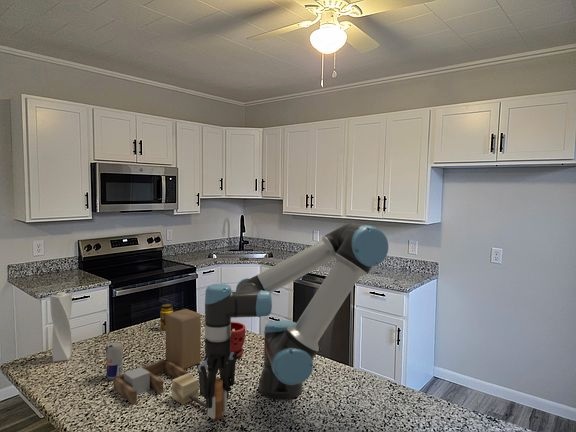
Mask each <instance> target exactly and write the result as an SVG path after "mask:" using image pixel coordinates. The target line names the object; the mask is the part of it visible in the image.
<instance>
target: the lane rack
mask: <svg viewBox="0 0 576 432" xmlns="http://www.w3.org/2000/svg"><path fill="white" fill-rule="evenodd" d="M141 367H142V366H141ZM142 368H143V369H145V370H146V371H148V372H149V373H150V389H153V390H154V391H155V392H156V393H158V394H160V395H161V394H164V380H163V379H162V378H160V377H158V376H157V374H158V375H161V374H162V373H166V372H167V373H166V374H168V375H169V374H170V375H169V376H171V375H172V376H171V377H173V379H176V378H178V377H180V376H183V375H185V374H187V373H188V371H186V369H182V368H180V367H178V366H177V365H175V364H173V363H172V362H170V361H168V360H167V359H166V358H165V359H163V360H161V361H158V362H154V363H152V364H151V363H150V364H148V365H146V366H143V367H142ZM113 390H114V391H116V392H117V393H118V394H119V395H121V397H123V398H124V399H125V400H127V401H128V403H130V404H131V405H132V406H133V405H137V403H138V399H137V398H138V397H137V396H138V394H137V391H136V390H134V389H133V388H132V387H131V386H129V385H128V384H127V383H125V382H124V373H123V374H122V375H119V376H116V377H114V380H113Z"/></svg>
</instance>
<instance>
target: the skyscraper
mask: <svg viewBox="0 0 576 432" xmlns="http://www.w3.org/2000/svg"><path fill="white" fill-rule="evenodd" d="M67 290H70V291H71V292H70V294H69V293H66V291H67ZM73 291H74V290H73V289H72V288H70V287H68V288H65V289H64V290H63V292H61V291H59V292H57V293H56V294H50V297H49V301H50V315H51V322H52V335H51V339H52V340H51V348H52V349H51V350H52V352H51V353H52V356H50V358H49V360H48V362H47V364H51V363H52V364H55V363H62V362H65V363H66V362H69V361H70V359H71V357H72V356H73V352H72V351H73V348H72V347H73V339H72V338H73V337H72V330H71V329H72V328H71V324H70V323H71V322H70V320H71V317H72V315H71V314H72V308H73V307H72V305H73V300H72V299H73Z"/></svg>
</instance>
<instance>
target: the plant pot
mask: <svg viewBox="0 0 576 432" xmlns="http://www.w3.org/2000/svg"><path fill="white" fill-rule="evenodd" d="M230 338H231V349H230V352H231V351H232V352H234V353H236V354H237V358H238V357H240V356H242V355H243V353H244V348H243V346H244V344H245V341H246V326H245V325H244V324H243V323H241V322H236V321H231V336H230Z"/></svg>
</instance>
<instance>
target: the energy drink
mask: <svg viewBox="0 0 576 432" xmlns="http://www.w3.org/2000/svg"><path fill="white" fill-rule="evenodd" d="M123 347H124V346H123V343H122V342H121V341H112V342H109V343H107V344H106V347H105V357H106V358H105V361H106V364H105V365H106V369H105V370H106V379H107V380H108V379H109V380H108V381H114V377H116V376H119V375H122V374H124V361H123V359H124V358H123V357H124V353H123Z"/></svg>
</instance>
